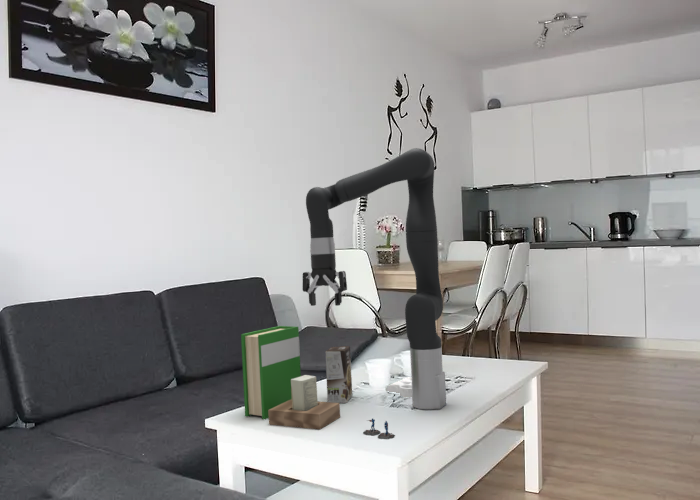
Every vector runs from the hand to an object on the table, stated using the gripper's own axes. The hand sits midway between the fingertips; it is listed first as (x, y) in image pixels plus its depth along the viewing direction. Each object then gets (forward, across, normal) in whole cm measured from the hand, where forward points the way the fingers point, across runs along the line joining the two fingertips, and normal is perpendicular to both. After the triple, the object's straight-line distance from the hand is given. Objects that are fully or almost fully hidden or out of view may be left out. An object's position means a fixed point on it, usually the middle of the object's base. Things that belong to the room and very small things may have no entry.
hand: (325, 305), depth 192 cm
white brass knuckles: (+31, -20, -21) cm, 42 cm away
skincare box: (+30, -2, +19) cm, 36 cm away
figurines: (+31, -27, +24) cm, 47 cm away
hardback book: (+30, +13, +12) cm, 35 cm away
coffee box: (+30, -1, -5) cm, 31 cm away
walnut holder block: (+30, -2, +19) cm, 36 cm away
